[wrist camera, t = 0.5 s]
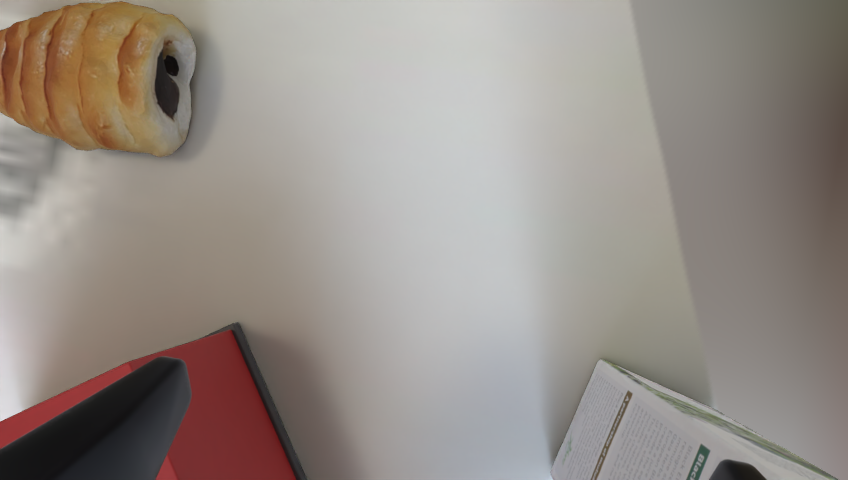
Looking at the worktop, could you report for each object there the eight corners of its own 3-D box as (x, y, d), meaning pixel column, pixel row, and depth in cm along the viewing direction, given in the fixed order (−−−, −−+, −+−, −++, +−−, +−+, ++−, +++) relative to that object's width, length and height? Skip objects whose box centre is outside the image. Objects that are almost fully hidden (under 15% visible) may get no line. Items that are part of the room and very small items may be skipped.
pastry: (6, 149, 26) (-74, 129, 22) (21, 11, 26) (-55, -32, 22) (194, 163, 25) (146, 145, 21) (208, 21, 25) (163, -21, 21)
